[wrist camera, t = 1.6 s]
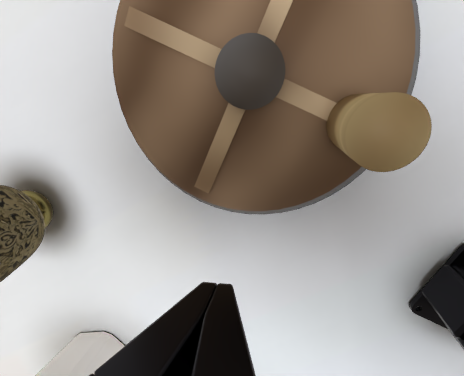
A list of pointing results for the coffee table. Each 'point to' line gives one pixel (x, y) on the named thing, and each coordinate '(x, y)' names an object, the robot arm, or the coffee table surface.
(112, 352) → the cup
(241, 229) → the coffee table surface
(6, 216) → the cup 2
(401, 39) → the handwheel
